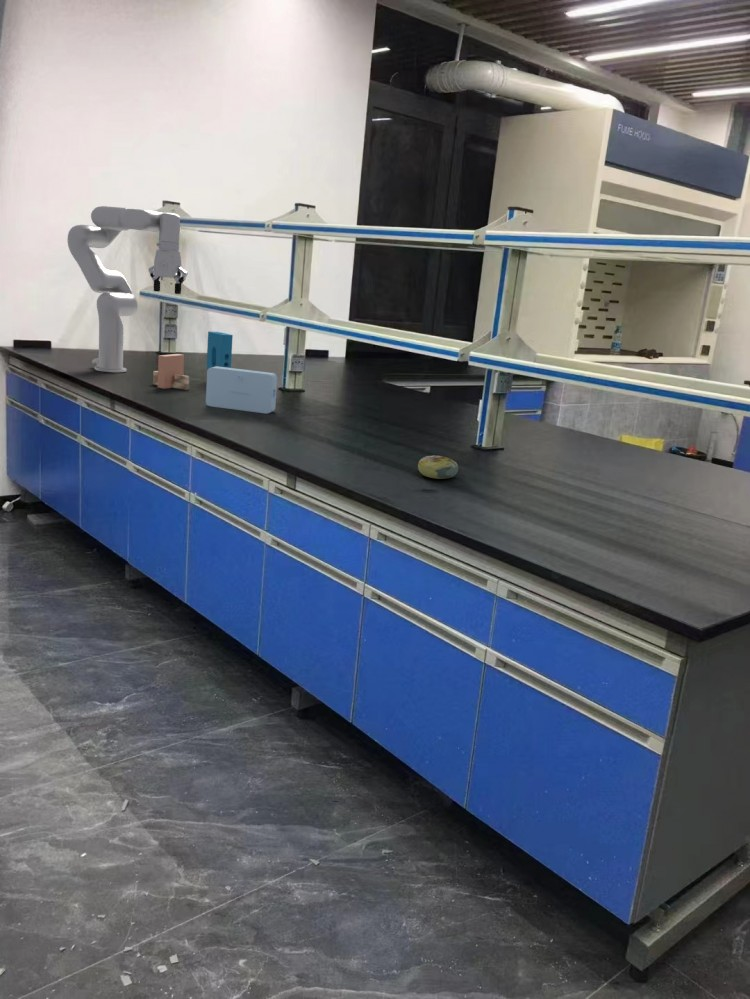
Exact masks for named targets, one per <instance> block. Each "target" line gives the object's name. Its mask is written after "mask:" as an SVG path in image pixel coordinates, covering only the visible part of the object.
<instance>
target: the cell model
mask: <svg viewBox="0 0 750 999" xmlns="http://www.w3.org/2000/svg"><path fill="white" fill-rule="evenodd" d="M417 469H418V471H419V474H421V475H423V476H424V477H426V478H427V477H428V478H431V479H437V480H443V479H450V478H452V477H455V476H456V475H457V473H458V471H459V464H458V463H457V461H455V460H453V459H452V458H450V457H447V456H442V455H426V456H424V457H421V459H419V461H418V464H417Z"/></svg>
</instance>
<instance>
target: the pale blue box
mask: <svg viewBox="0 0 750 999" xmlns="http://www.w3.org/2000/svg"><path fill="white" fill-rule="evenodd" d="M277 387H278V376H277V374H276V373H275V372H267V371H260V370H251V369H241V368H234V367H231V368H227V367H218V366H216V367H212V368H209V369H208V370H207V369H206V387H205V388H206V389H205V390H206V392H205V404H206V405H207V406H208V407H213V408H220V409H221V408H222V409H230V410H237V411H245V412H253V413H261V414H269V413H272V412H274V411H275V410H276V406H277V405H276V404H277V403H276V402H277V401H276V400H277V389H278V388H277Z"/></svg>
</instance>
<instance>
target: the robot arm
mask: <svg viewBox="0 0 750 999" xmlns="http://www.w3.org/2000/svg"><path fill="white" fill-rule="evenodd" d="M90 218H91V222H92V223H93V224H94V225H88V224H87V225H86V224H76V225H74V226H72V227H71V228H70V229H69V231H68V234H67V240H66V241H67V246H68V250H69V252H70V254H71V256H72V257H73V259H74V261H75V262H76V264H77V265H78V267H79V268H80V270H81V272H82V275H83V276H84V279H85V280H86V282H87V284H88V286H89V287H90V289H91V290H92V291H93V292H95V293H96V294H98V293H99V294H100V295H98V297H97V299H96V309H97V314H98V315H97V316H98V357H97V358H93V359H92V360H91V363H92V364H96V365H95V366H94V370H95V371H97V372H102V373H103V372H105V373H125V372H127V370H128V369H127V368H126V367H124V324H123V321H122V319H121V317H130V316H133V315H135V314H136V312H137V311H138V301H137V298H136V296H135V294H134V292H133V290H132V288H131V286H130V285H129V283H128V281H127V279H126V277H125V276H124V274H122V273H121V272H120V271H118V270H115V269H109V268H108V269H107V268H106V267H104V265H103V264H102V261H101V259H100V258H99V256H98V255H97V254H96V253H95V252H94V251H93V250H92V249H91V248H94V249H104V248H105V249H106V248H107V247H108V246H110V245H111V244H112V243H113V241H114V240H115V239H116V238H118V236H119V235H120V234H121V232H122V231H124V232H125V231H130V230H135V231H136V230H137V231H143V232H144V231H145V232H153V233H158V242H157V243H156V247H158V249H156V251H155V254H154V261H153V265H152V266H150V267H149V268H148V272H149V275H150V277H151V279H152V282H153V292H157V293H158V292H160V291H161V281H160V279H161V278H171V279H174V281H175V282H176V283H174V294H175V295H181V294H182V285H183V283H184V281H185V280H186V278H187V276H188V271H186V270H185V269H183V268H182V257H181V252H180V226H181V225H180V223H181V218H180V215H178V214H177V213H172V212H159V211H154V210H148V209H147V210H146V209H140V208H139V209H138V208H137V209H135V208H128V207H121V206H120V207H118V206H106V205H105V206H104V205H102V206H101V205H99V206H97V207H95V208H93V210H92V211H91V213H90Z"/></svg>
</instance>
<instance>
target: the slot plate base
mask: <svg viewBox="0 0 750 999" xmlns="http://www.w3.org/2000/svg"><path fill="white" fill-rule="evenodd" d="M152 377H153V378H152V381H153V382H152V385H155V386H158V370H153V376H152ZM171 388H174V389H180V390H186V391H187V390H189V389H190V375H185V374H184V375H179V374H176V375H175V381H172V383H171Z"/></svg>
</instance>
